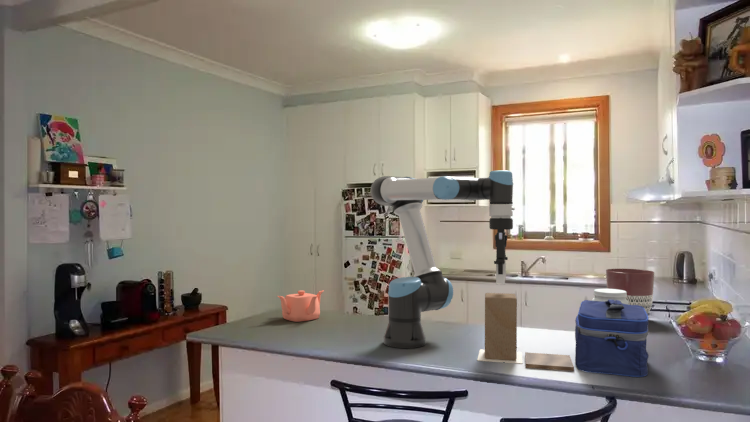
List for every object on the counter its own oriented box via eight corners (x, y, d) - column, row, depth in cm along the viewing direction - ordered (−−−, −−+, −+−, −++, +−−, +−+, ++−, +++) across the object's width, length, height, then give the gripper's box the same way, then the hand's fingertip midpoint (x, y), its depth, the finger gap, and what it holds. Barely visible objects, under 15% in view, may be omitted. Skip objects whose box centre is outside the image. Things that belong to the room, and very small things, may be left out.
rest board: (525, 367, 169) (525, 363, 169) (525, 355, 183) (525, 352, 183) (574, 371, 166) (574, 367, 166) (569, 358, 179) (569, 355, 179)
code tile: (477, 360, 177) (477, 359, 177) (480, 349, 190) (480, 349, 190) (522, 363, 173) (522, 363, 173) (521, 352, 187) (521, 352, 187)
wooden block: (516, 360, 176) (516, 298, 176) (484, 359, 178) (484, 297, 178) (515, 352, 186) (515, 293, 186) (484, 351, 188) (485, 292, 188)
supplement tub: (594, 334, 215) (594, 287, 215) (630, 338, 208) (630, 289, 208) (588, 341, 203) (589, 291, 203) (626, 345, 197) (627, 294, 197)
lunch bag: (653, 383, 155) (654, 310, 155) (574, 374, 162) (574, 305, 162) (642, 355, 184) (642, 294, 184) (575, 349, 191) (575, 290, 191)
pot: (316, 323, 233) (317, 294, 233) (276, 322, 234) (276, 293, 234) (324, 315, 251) (324, 288, 251) (286, 314, 252) (286, 287, 252)
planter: (658, 324, 232) (658, 274, 232) (608, 322, 238) (608, 272, 238) (649, 316, 251) (649, 269, 251) (603, 313, 257) (603, 267, 256)
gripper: (512, 217, 168) (512, 287, 168) (513, 217, 193) (513, 277, 193) (487, 217, 170) (487, 286, 170) (491, 217, 194) (491, 277, 194)
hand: (501, 282), depth 181 cm, fingers open, 13 cm apart
